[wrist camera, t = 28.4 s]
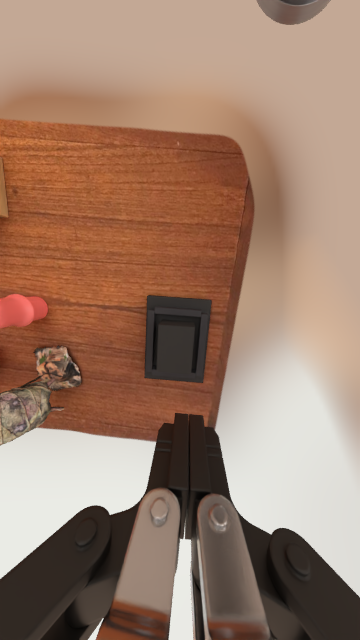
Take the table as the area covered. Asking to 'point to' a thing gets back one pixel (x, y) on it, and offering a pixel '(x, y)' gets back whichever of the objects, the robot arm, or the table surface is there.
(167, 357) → the small black block
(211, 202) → the table surface
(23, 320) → the figurine
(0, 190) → the oak block
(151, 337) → the base pad
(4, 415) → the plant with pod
